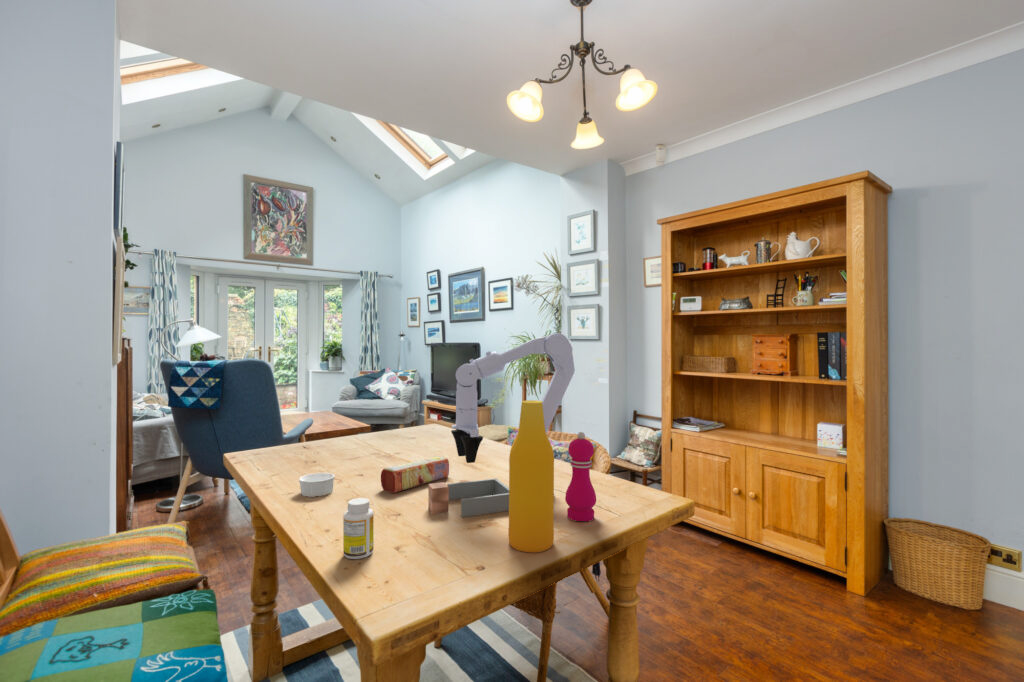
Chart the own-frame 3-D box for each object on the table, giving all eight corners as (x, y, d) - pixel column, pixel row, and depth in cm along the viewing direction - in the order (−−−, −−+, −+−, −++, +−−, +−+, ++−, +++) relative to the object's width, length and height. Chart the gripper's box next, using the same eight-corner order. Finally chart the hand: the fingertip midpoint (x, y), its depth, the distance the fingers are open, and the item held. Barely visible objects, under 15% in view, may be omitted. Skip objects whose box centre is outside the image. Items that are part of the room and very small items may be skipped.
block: (444, 506, 120) (444, 482, 120) (448, 511, 116) (448, 486, 116) (428, 508, 118) (428, 484, 118) (432, 513, 115) (432, 488, 115)
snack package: (436, 474, 149) (436, 452, 149) (451, 478, 145) (451, 455, 145) (379, 491, 132) (379, 466, 132) (394, 496, 128) (394, 470, 128)
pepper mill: (598, 513, 115) (599, 430, 115) (593, 524, 109) (594, 436, 108) (568, 510, 118) (569, 428, 118) (562, 520, 111) (562, 433, 111)
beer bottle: (540, 557, 92) (541, 405, 92) (499, 546, 97) (500, 402, 97) (561, 540, 100) (562, 400, 100) (523, 531, 105) (524, 397, 105)
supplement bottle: (363, 545, 97) (363, 494, 97) (379, 553, 93) (379, 500, 93) (337, 554, 93) (337, 501, 93) (353, 563, 89) (353, 508, 89)
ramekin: (291, 495, 128) (291, 479, 128) (316, 486, 136) (316, 470, 136) (317, 500, 124) (317, 483, 124) (341, 490, 132) (341, 474, 132)
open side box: (496, 493, 130) (496, 478, 130) (515, 509, 118) (515, 493, 118) (447, 499, 125) (447, 483, 125) (462, 517, 113) (462, 499, 113)
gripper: (445, 405, 135) (444, 454, 135) (460, 413, 121) (459, 467, 121) (469, 404, 137) (469, 452, 137) (486, 411, 124) (486, 464, 124)
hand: (466, 459), depth 129 cm, fingers open, 7 cm apart
